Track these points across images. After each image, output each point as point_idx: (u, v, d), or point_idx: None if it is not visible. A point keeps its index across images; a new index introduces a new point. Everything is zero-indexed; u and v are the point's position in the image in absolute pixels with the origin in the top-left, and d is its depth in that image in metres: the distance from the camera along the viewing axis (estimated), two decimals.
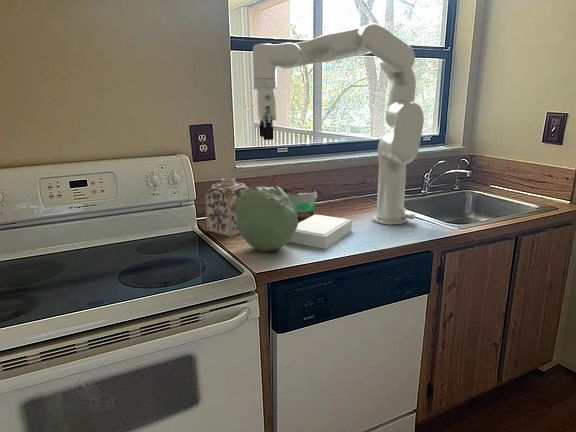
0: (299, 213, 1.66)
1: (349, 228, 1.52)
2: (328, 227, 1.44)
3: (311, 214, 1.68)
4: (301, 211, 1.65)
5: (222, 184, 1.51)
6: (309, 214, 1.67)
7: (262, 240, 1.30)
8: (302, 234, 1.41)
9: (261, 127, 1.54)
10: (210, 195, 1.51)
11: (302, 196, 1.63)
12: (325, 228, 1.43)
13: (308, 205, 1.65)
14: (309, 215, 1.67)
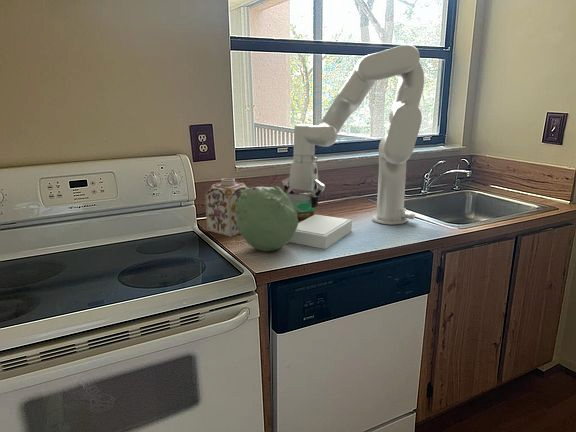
0: (299, 213, 1.66)
1: (349, 228, 1.52)
2: (328, 227, 1.44)
3: (311, 214, 1.68)
4: (301, 211, 1.65)
5: (222, 184, 1.51)
6: (309, 214, 1.67)
7: (262, 240, 1.30)
8: (302, 234, 1.41)
9: None
10: (210, 195, 1.51)
11: (302, 196, 1.63)
12: (325, 228, 1.43)
13: (308, 205, 1.65)
14: (309, 215, 1.67)
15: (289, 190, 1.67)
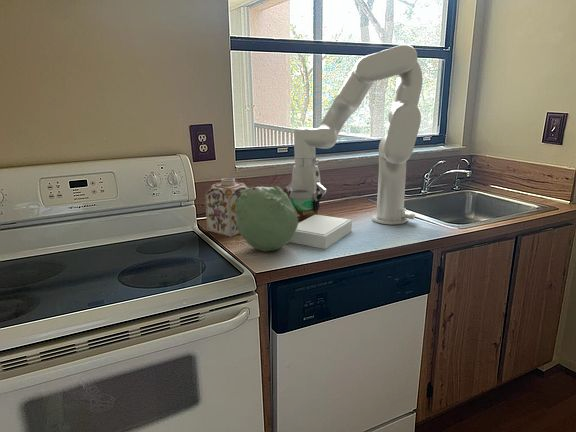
0: (304, 211, 1.65)
1: (349, 228, 1.52)
2: (328, 227, 1.44)
3: (316, 211, 1.67)
4: (306, 209, 1.65)
5: (222, 184, 1.51)
6: None
7: (262, 240, 1.30)
8: (302, 234, 1.41)
9: None
10: (210, 195, 1.51)
11: (306, 193, 1.63)
12: (325, 228, 1.43)
13: (312, 202, 1.65)
14: (314, 212, 1.66)
15: None
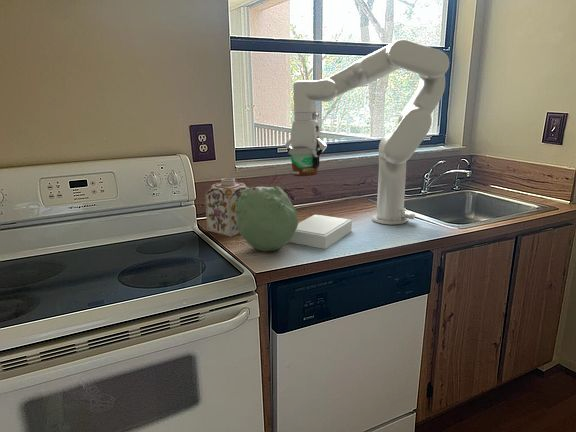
0: (304, 168, 1.61)
1: (349, 228, 1.52)
2: (328, 227, 1.44)
3: (315, 169, 1.63)
4: (305, 166, 1.60)
5: (222, 184, 1.51)
6: (314, 169, 1.62)
7: (262, 240, 1.30)
8: (302, 234, 1.41)
9: None
10: (210, 195, 1.51)
11: (306, 149, 1.58)
12: (325, 228, 1.43)
13: (312, 159, 1.60)
14: (314, 170, 1.62)
15: None
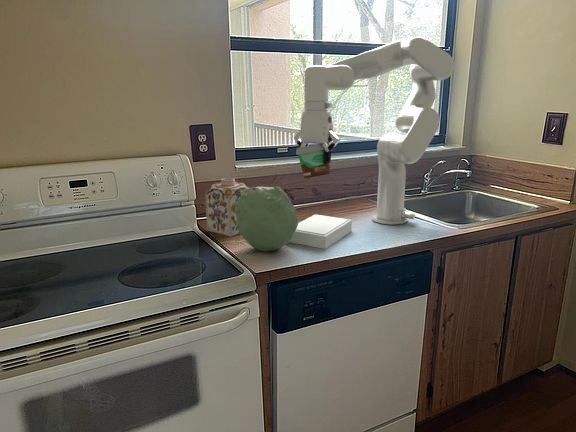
0: (316, 167, 1.45)
1: (349, 228, 1.52)
2: (328, 227, 1.44)
3: (328, 168, 1.47)
4: (317, 164, 1.45)
5: (222, 184, 1.51)
6: (326, 167, 1.46)
7: (262, 240, 1.30)
8: (302, 234, 1.41)
9: None
10: (210, 195, 1.51)
11: (315, 146, 1.44)
12: (325, 228, 1.43)
13: (323, 156, 1.45)
14: (326, 168, 1.46)
15: (302, 146, 1.47)
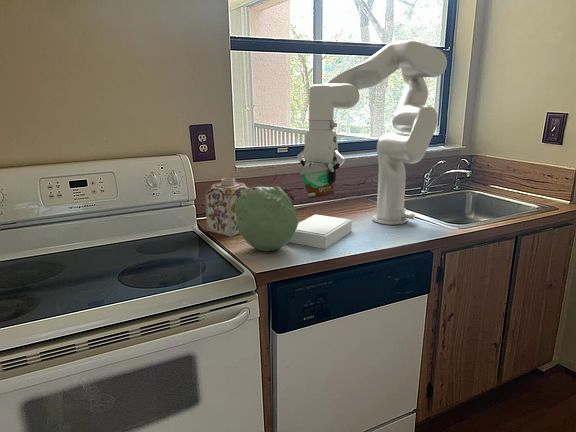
0: (320, 187, 1.41)
1: (349, 228, 1.52)
2: (328, 227, 1.44)
3: (332, 187, 1.44)
4: (322, 184, 1.41)
5: (222, 184, 1.51)
6: (331, 187, 1.43)
7: (262, 240, 1.30)
8: (302, 234, 1.41)
9: None
10: (210, 195, 1.51)
11: (320, 166, 1.40)
12: (325, 228, 1.43)
13: (328, 176, 1.42)
14: (331, 188, 1.43)
15: (306, 165, 1.44)
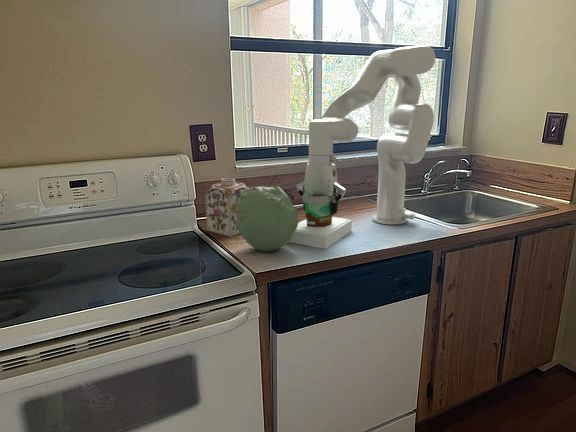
0: (321, 218, 1.44)
1: (349, 228, 1.52)
2: (328, 227, 1.44)
3: (331, 217, 1.47)
4: (323, 215, 1.44)
5: (222, 184, 1.51)
6: (330, 218, 1.46)
7: (262, 240, 1.30)
8: (302, 234, 1.41)
9: None
10: (210, 195, 1.51)
11: (324, 197, 1.42)
12: (325, 228, 1.43)
13: (329, 207, 1.44)
14: (330, 219, 1.46)
15: (304, 195, 1.47)
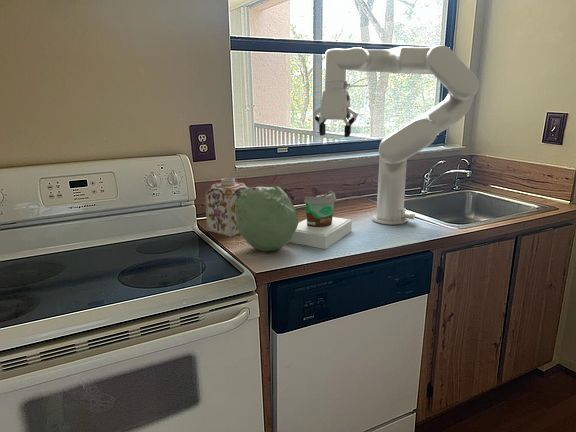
0: (321, 218, 1.44)
1: (349, 228, 1.52)
2: (328, 227, 1.44)
3: (331, 218, 1.47)
4: (323, 216, 1.44)
5: (222, 184, 1.51)
6: (330, 218, 1.46)
7: (262, 240, 1.30)
8: (302, 234, 1.41)
9: (322, 126, 1.63)
10: (210, 195, 1.51)
11: (325, 198, 1.42)
12: (325, 228, 1.43)
13: (330, 208, 1.44)
14: (330, 219, 1.46)
15: (320, 121, 1.63)
